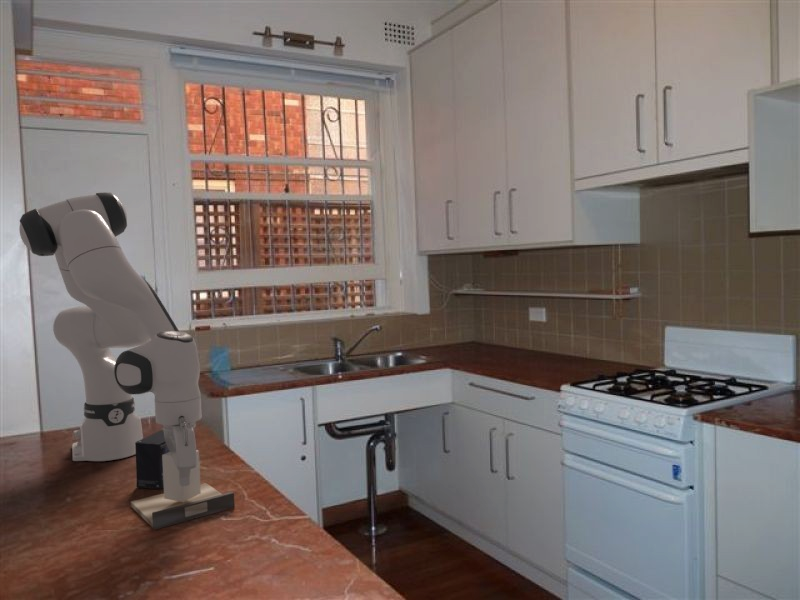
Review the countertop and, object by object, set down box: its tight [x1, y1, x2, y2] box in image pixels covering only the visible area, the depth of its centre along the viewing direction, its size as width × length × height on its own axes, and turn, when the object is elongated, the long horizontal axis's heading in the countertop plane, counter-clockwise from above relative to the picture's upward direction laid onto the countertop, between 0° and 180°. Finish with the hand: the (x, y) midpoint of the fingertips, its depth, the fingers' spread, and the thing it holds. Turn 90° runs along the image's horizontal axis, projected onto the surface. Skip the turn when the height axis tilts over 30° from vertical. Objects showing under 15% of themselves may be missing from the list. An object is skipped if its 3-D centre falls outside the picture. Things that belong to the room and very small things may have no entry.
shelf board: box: [130, 482, 235, 530], centre depth 131 cm, size 15×16×3 cm
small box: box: [135, 429, 170, 490], centre depth 146 cm, size 11×6×10 cm, turn 168°
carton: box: [162, 449, 201, 502], centre depth 130 cm, size 5×5×9 cm
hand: (181, 478), depth 130 cm, fingers closed on carton, 7 cm apart
